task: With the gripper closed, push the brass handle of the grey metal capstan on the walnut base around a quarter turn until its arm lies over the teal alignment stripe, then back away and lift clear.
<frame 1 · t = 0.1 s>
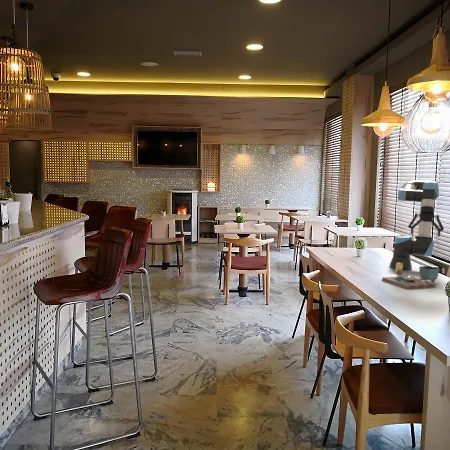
hand: (424, 240, 292), 28 cm above the table, tool tilted 20°, fingers open, 13 cm apart
base plate: (408, 283, 295), on the table
flower pot: (427, 281, 305), on the table
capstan: (405, 271, 298), point 7 cm above the table, hinge at 0.0°
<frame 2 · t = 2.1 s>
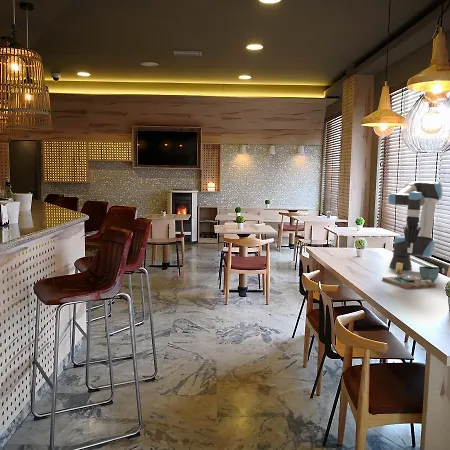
hand: (409, 252, 304), 18 cm above the table, tool pointing down, fingers closed
nothing on the table moved.
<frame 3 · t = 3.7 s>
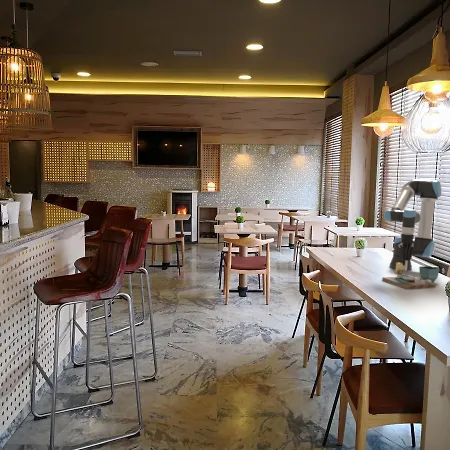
hand: (404, 270, 304), 7 cm above the table, tool pointing down, fingers closed
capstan: (405, 271, 298), point 7 cm above the table, hinge at 0.0°, touching gripper
everything else where it was.
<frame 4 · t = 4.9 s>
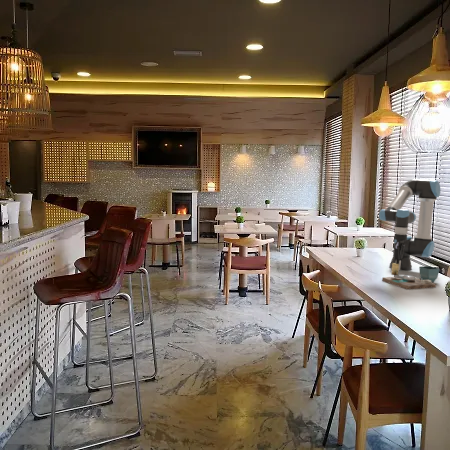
hand: (397, 270, 303), 7 cm above the table, tool pointing down, fingers closed
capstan: (403, 272, 297), point 7 cm above the table, hinge at 27.6°, touching gripper
everything else where it was.
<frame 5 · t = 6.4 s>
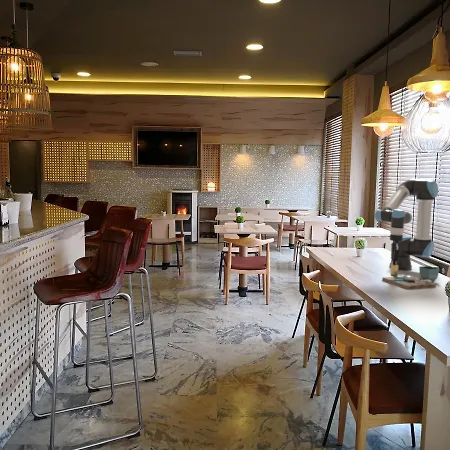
hand: (393, 271, 300), 7 cm above the table, tool pointing down, fingers closed
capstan: (403, 272, 295), point 7 cm above the table, hinge at 61.4°, touching gripper
everything else where it was.
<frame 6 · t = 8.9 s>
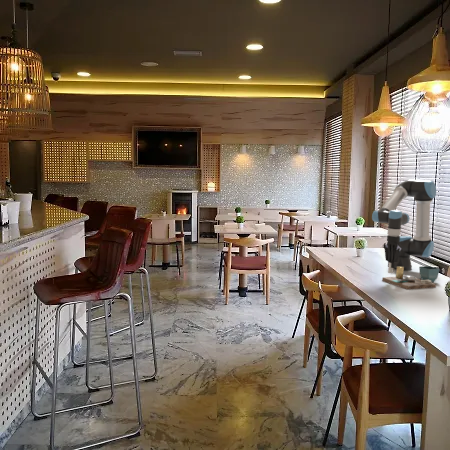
hand: (390, 272, 297), 6 cm above the table, tool pointing down, fingers closed
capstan: (405, 273, 293), point 7 cm above the table, hinge at 98.7°
everything else where it was.
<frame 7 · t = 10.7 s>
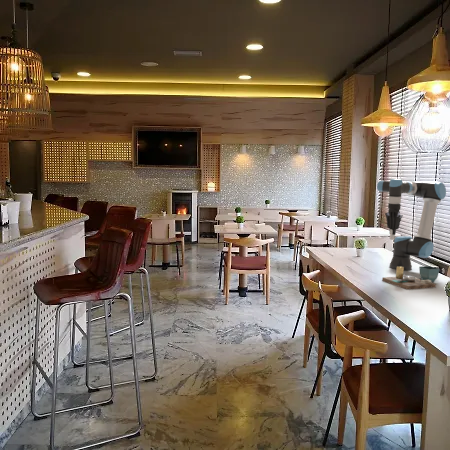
hand: (392, 239, 308), 25 cm above the table, tool pointing down, fingers closed
nothing on the table moved.
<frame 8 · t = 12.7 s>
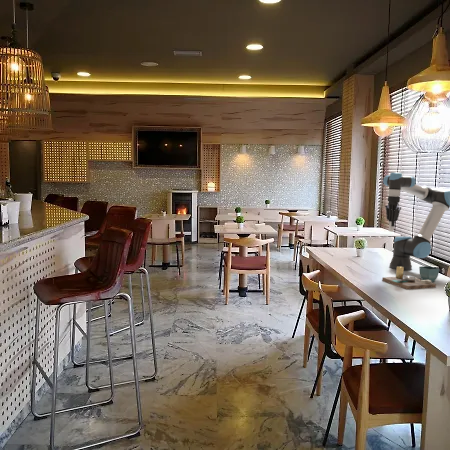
hand: (391, 231, 318), 29 cm above the table, tool pointing down, fingers closed
nothing on the table moved.
at the end: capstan at +99° (first picture: +0°); flower pot moved 0.2 cm from its start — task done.
